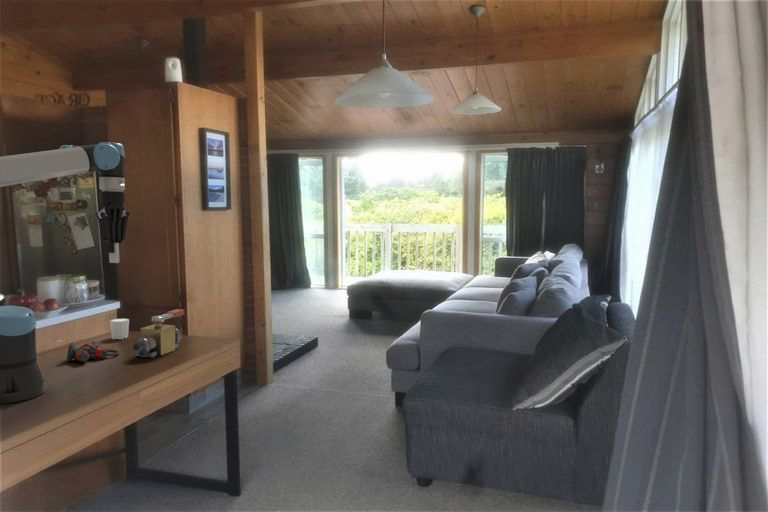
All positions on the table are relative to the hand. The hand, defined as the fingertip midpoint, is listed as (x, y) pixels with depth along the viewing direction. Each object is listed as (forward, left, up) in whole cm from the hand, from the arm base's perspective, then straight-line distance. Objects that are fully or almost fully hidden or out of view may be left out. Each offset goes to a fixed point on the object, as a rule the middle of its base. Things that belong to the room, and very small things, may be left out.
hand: (114, 262), depth 184 cm
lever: (+17, -8, -21) cm, 28 cm away
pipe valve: (+11, -8, -32) cm, 35 cm away
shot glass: (+24, +19, -33) cm, 45 cm away
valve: (+2, +10, -33) cm, 35 cm away
